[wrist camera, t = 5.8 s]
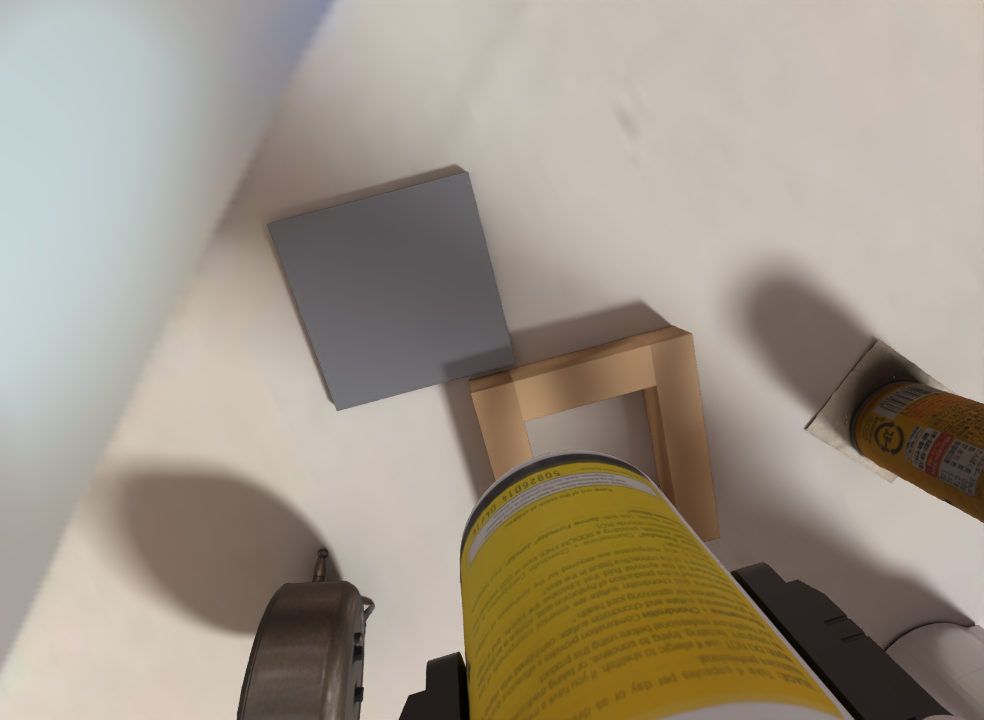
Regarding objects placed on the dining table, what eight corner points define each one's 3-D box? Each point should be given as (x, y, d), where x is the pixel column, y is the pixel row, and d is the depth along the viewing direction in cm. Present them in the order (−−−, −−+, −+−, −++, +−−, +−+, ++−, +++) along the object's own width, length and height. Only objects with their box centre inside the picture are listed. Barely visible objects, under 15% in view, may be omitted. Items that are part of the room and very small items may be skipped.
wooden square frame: (672, 325, 29) (692, 333, 26) (700, 516, 33) (720, 537, 30) (468, 380, 28) (470, 393, 26) (521, 565, 32) (526, 591, 30)
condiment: (889, 481, 33) (1122, 613, 22) (804, 429, 32) (1008, 541, 20) (959, 397, 32) (1247, 489, 20) (874, 337, 30) (1137, 401, 19)
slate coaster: (467, 172, 25) (467, 171, 25) (514, 360, 28) (515, 363, 28) (271, 224, 25) (267, 224, 25) (339, 407, 28) (337, 411, 28)
